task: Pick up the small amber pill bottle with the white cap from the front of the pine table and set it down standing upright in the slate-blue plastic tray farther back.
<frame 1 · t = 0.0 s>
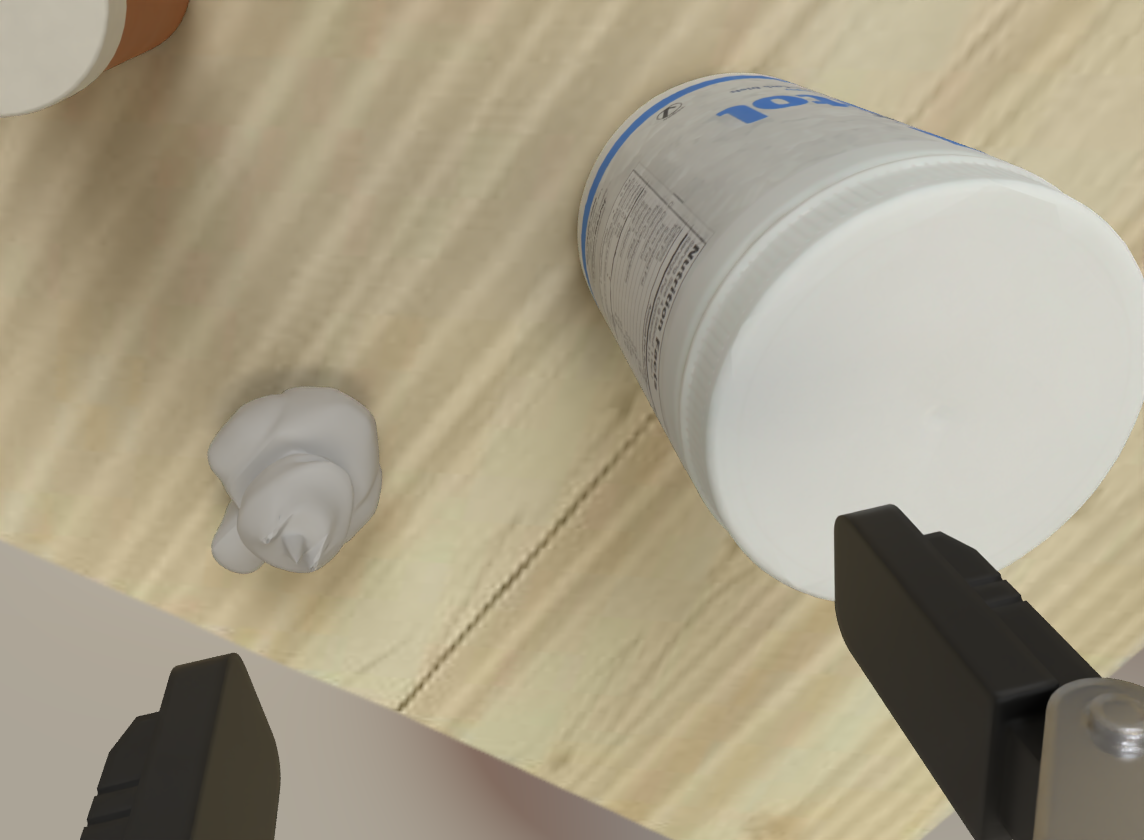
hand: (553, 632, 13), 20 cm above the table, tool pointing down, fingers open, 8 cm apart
supplement tub: (708, 218, 31), on the table
grey figurine: (298, 443, 32), on the table
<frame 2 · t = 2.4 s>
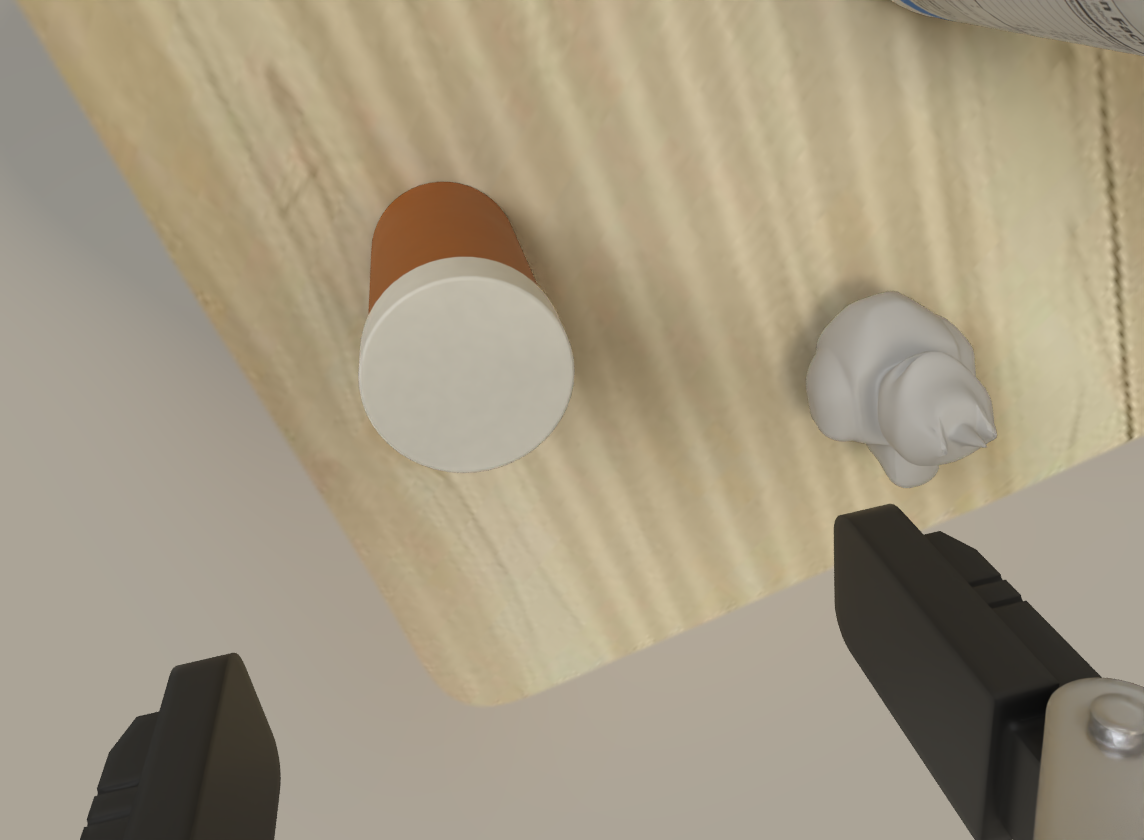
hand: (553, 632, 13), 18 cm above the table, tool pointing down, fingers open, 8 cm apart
pill bottle: (445, 253, 29), on the table
grey figurine: (858, 359, 33), on the table
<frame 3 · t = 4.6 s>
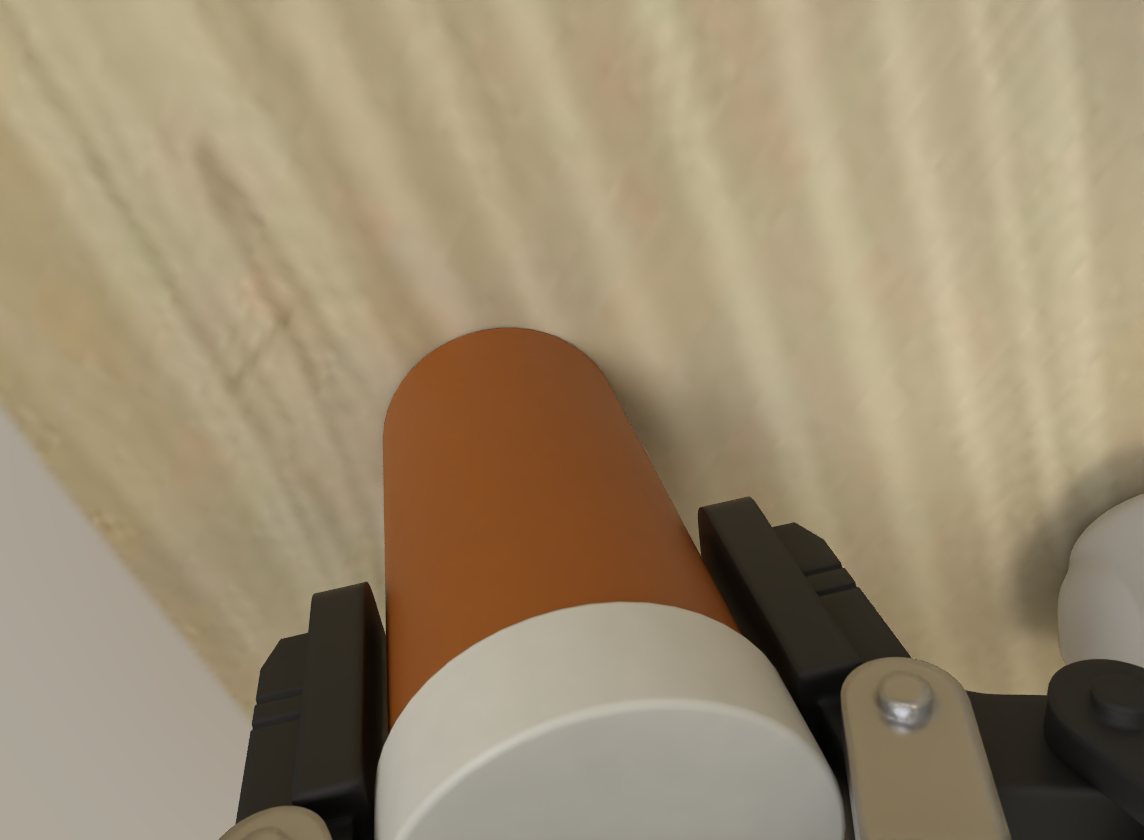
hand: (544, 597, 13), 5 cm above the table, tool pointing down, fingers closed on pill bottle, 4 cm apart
pill bottle: (503, 438, 17), on the table, touching gripper
grey figurine: (1117, 557, 22), on the table
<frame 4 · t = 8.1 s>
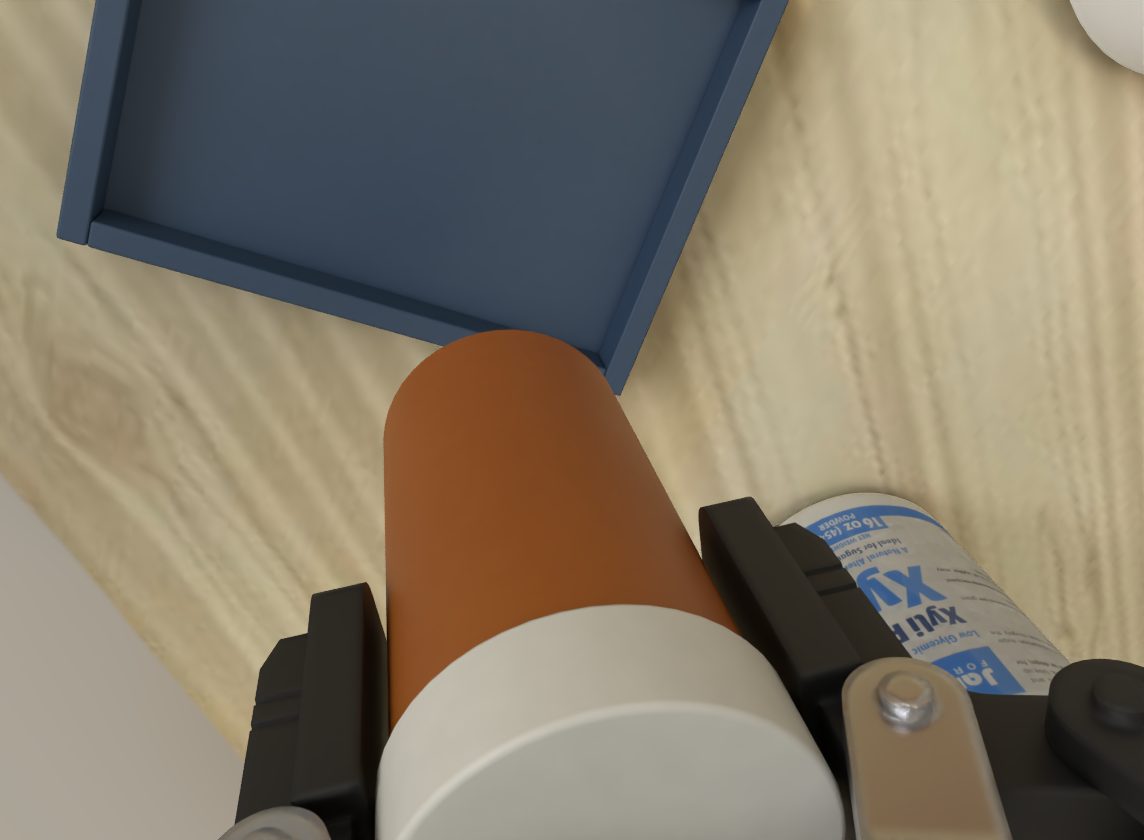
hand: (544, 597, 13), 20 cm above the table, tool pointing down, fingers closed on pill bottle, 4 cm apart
supplement tub: (831, 578, 40), on the table
tray: (426, 99, 29), on the table
pill bottle: (504, 439, 17), point 15 cm above the table, touching gripper
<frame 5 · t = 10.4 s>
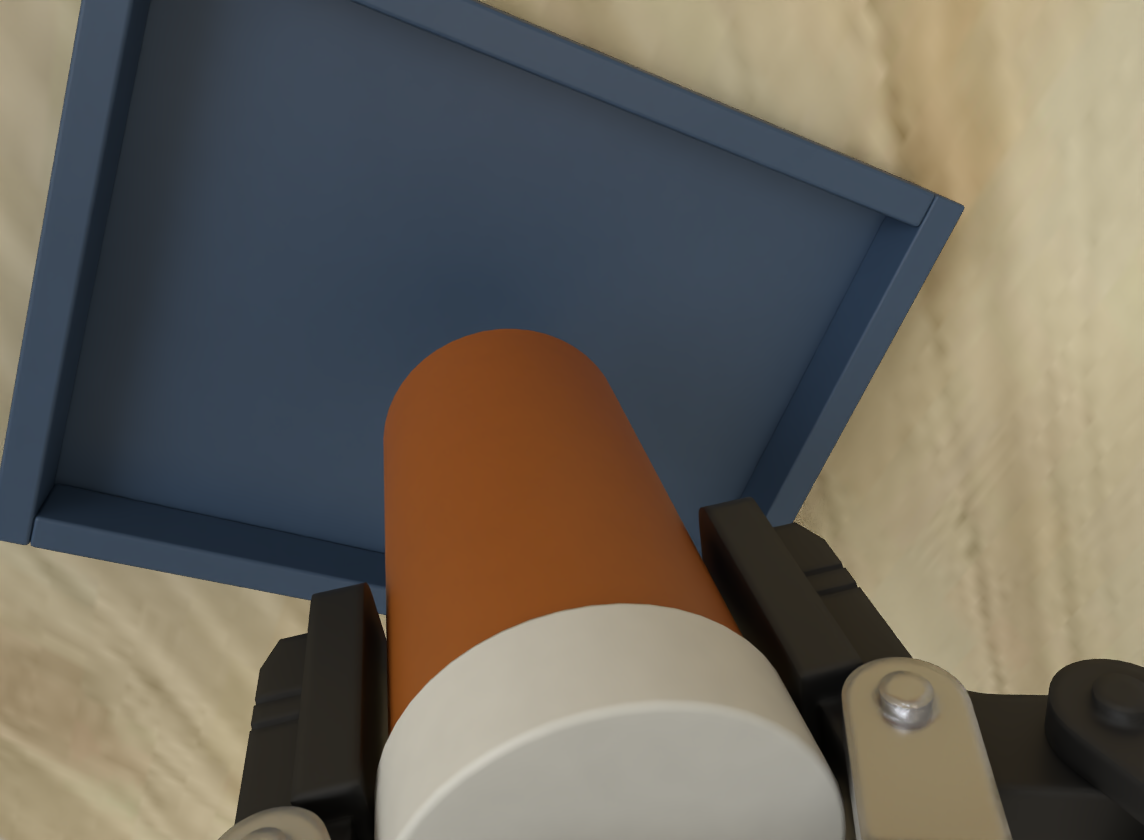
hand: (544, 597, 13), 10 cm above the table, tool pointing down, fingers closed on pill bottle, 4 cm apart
tray: (476, 334, 22), on the table
pill bottle: (504, 438, 17), point 5 cm above the table, touching gripper
when the fingers open (5 cm above the table, at t = 12.0 s): pill bottle stays where it is, resting on tray.
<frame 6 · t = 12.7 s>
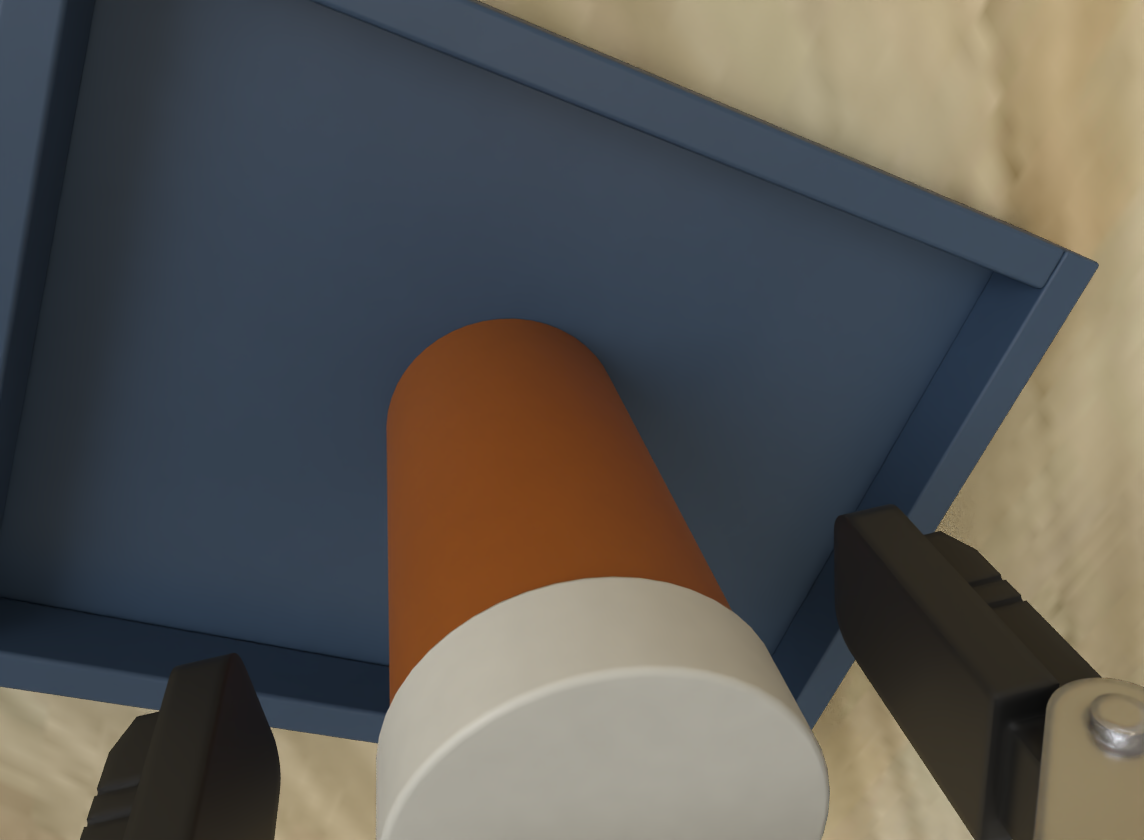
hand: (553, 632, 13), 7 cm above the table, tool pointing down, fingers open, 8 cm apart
tray: (499, 412, 18), on the table
pill bottle: (504, 426, 18), point 1 cm above the table, touching tray
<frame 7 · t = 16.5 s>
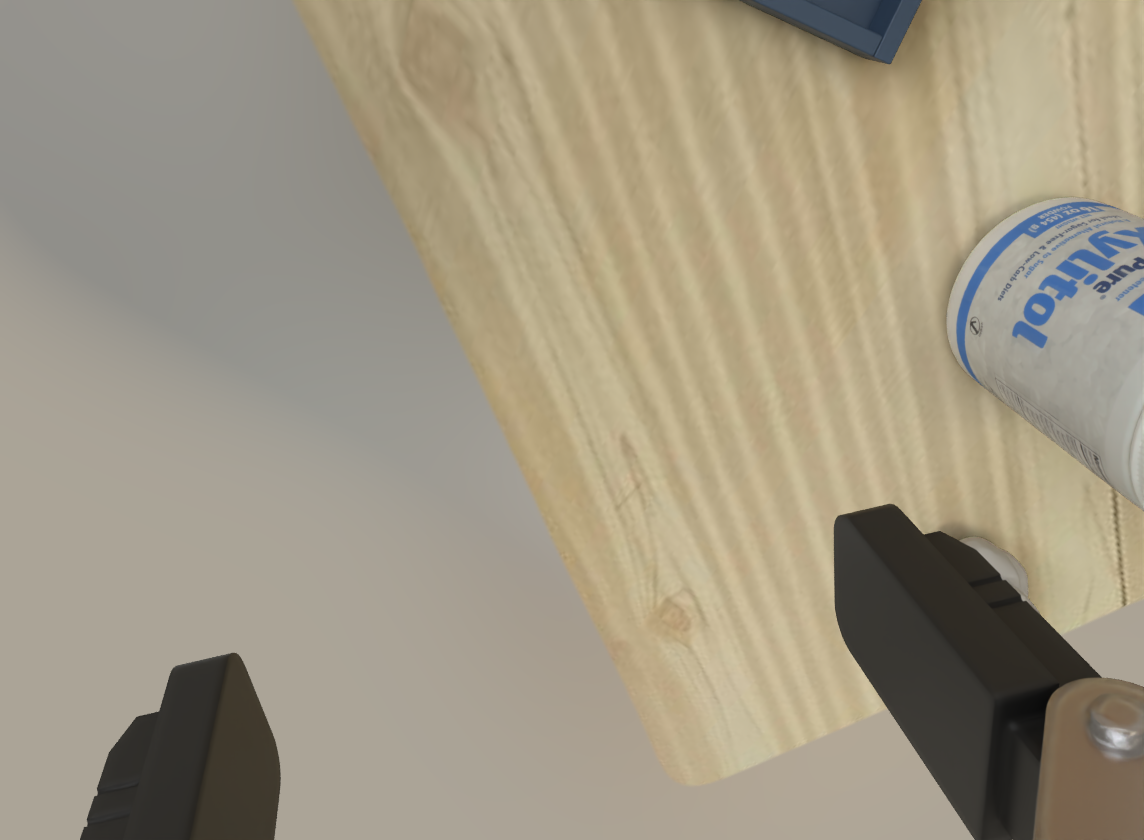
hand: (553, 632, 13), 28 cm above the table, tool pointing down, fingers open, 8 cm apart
supplement tub: (1028, 293, 45), on the table
grey figurine: (949, 567, 52), on the table
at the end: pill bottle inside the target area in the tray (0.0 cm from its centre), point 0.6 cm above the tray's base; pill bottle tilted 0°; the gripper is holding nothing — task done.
